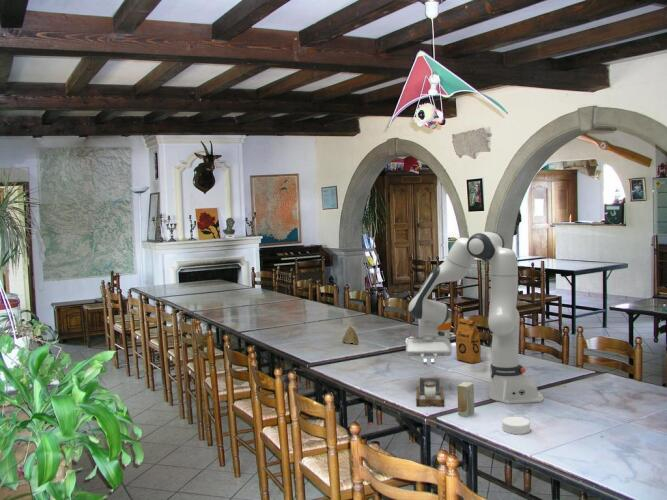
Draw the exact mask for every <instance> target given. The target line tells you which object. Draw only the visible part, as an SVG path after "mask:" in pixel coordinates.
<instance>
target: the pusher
mask: <svg viewBox="0 0 667 500" xmlns="http://www.w3.org/2000/svg"><path fill="white" fill-rule="evenodd" d="M427 381H432V382H435V383H436V386H435V387H436V395H440V377H419V391H420V395H425V387H424V382H427Z"/></svg>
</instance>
